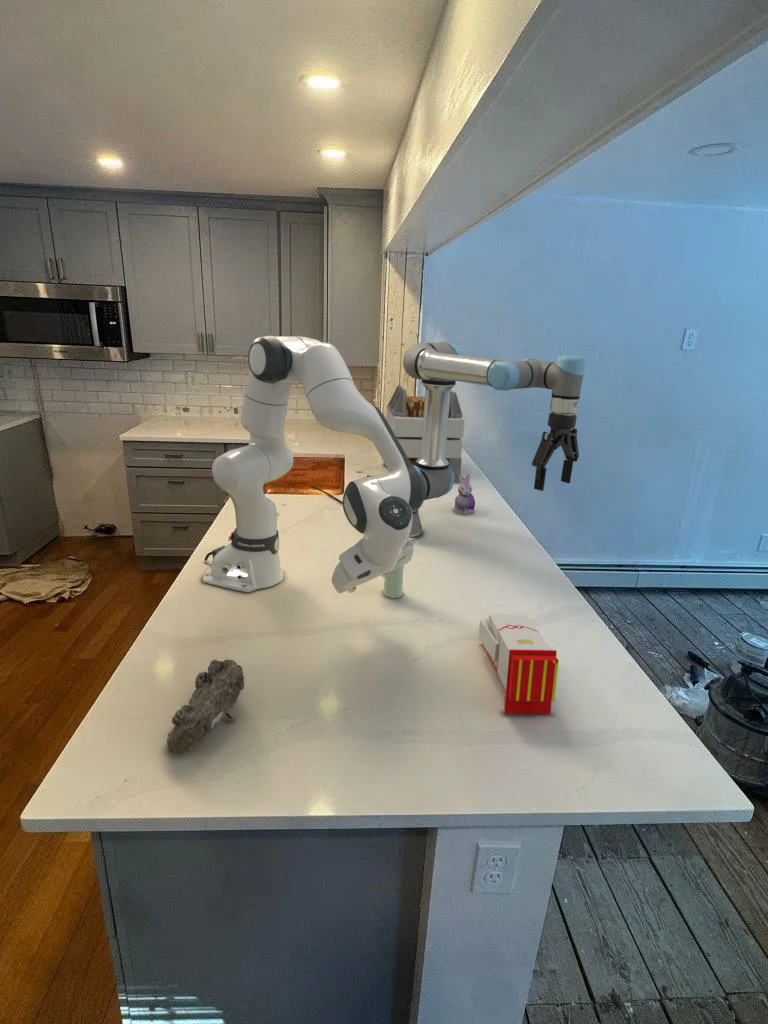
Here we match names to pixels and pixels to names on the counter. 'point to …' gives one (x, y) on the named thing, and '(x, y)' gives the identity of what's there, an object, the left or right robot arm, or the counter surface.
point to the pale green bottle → (394, 583)
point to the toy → (521, 662)
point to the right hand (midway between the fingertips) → (552, 485)
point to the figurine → (464, 497)
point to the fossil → (206, 705)
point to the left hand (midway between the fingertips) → (367, 581)
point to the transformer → (408, 427)
